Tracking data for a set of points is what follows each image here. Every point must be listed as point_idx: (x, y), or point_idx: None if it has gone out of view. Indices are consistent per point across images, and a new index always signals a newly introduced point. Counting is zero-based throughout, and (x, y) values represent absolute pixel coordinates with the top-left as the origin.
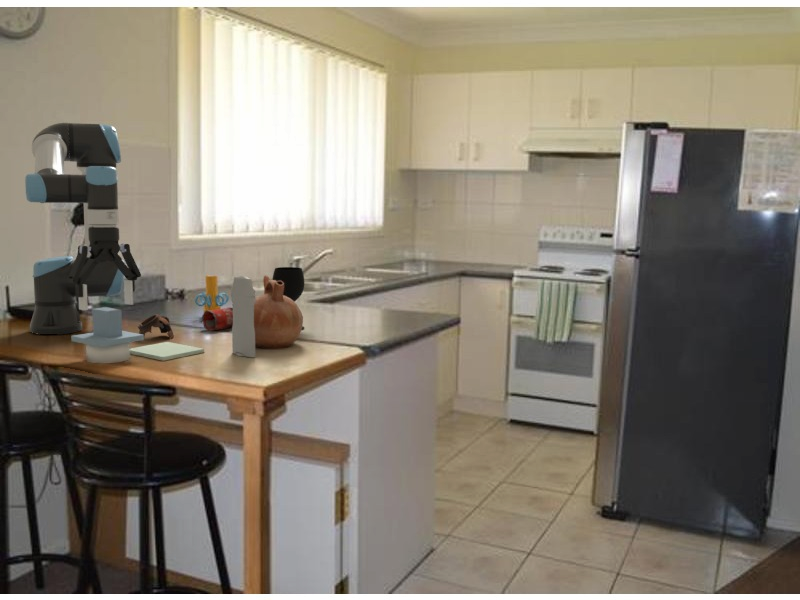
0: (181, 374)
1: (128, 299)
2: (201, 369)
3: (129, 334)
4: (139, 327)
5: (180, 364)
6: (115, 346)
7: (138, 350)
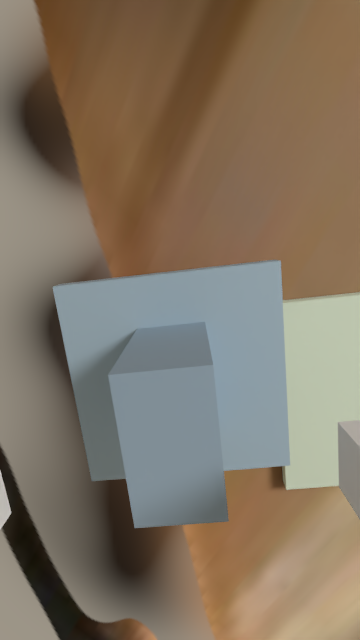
0: (219, 624)
1: (357, 490)
2: (287, 617)
3: (252, 424)
4: None
5: (287, 545)
6: None
7: (295, 352)
